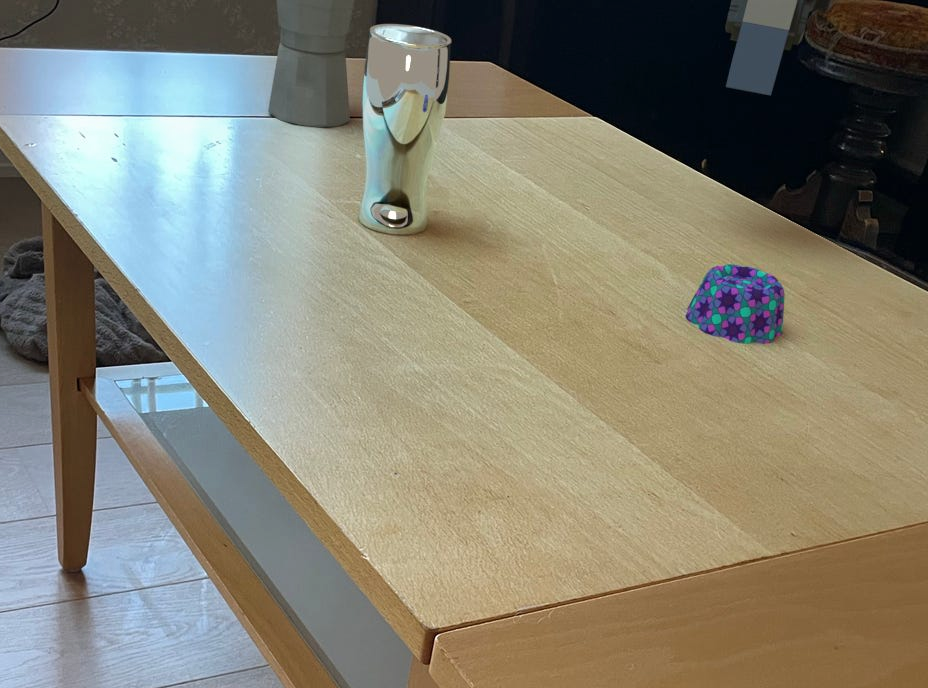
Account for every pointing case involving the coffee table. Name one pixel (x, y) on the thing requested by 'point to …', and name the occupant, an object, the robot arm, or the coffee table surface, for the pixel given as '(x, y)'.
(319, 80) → the coffeepot
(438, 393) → the coffee table surface
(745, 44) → the block
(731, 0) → the robot arm
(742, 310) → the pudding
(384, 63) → the beer glass
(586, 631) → the coffee table surface
